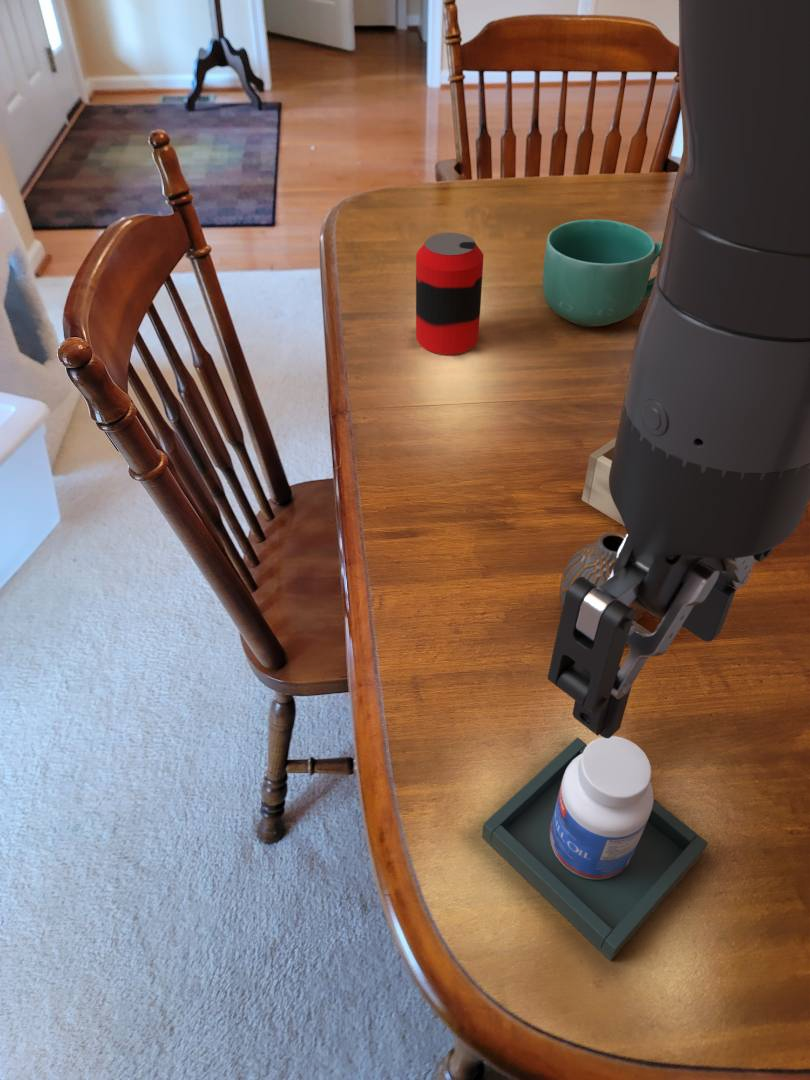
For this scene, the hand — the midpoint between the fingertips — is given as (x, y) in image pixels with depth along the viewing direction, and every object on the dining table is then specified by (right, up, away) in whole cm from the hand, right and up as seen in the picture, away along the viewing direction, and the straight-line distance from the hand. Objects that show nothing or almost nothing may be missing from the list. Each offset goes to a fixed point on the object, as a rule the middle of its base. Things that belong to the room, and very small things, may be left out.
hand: (648, 674), depth 42 cm
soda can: (-7, +31, +59) cm, 67 cm away
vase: (+4, 0, +27) cm, 27 cm away
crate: (+12, +10, +37) cm, 41 cm away
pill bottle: (0, -13, +13) cm, 18 cm away
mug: (+13, +35, +63) cm, 74 cm away
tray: (0, -13, +13) cm, 19 cm away
